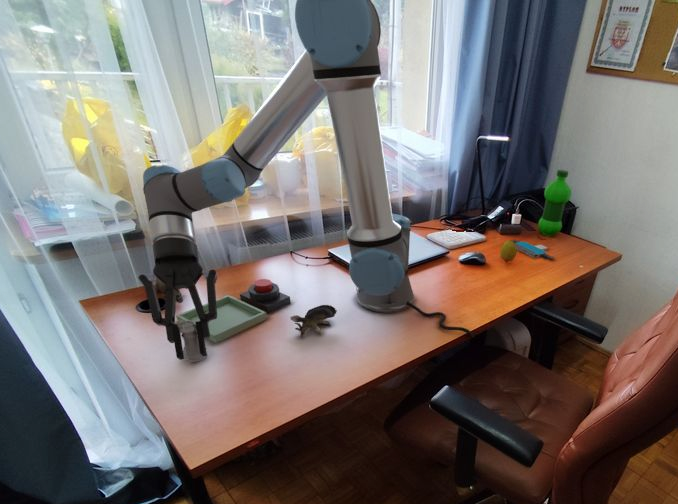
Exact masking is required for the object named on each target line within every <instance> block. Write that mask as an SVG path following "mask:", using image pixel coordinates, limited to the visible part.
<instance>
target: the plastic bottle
mask: <svg viewBox="0 0 678 504" xmlns="http://www.w3.org/2000/svg"><path fill="white" fill-rule="evenodd" d="M555 176H556V179H555V180H554V181H552V182H550V183H549V184H548V185H546V187H545V188H544V194H543V196H544V199H545V202H544V207H543V212H542V215H541V217H540V218H539V220H538V224H537V225H538V229H539V231H540V232H541V234H542V235H544V236H546V237H553V236H555V235H556V234H558V233H560V231H561V230H562V228H563V222H562V218H563V214H564V211H565V207H566V203H568V202H569V201H570V199H571V197H572V190H571V188H570V186H569V184H568V183H567V182H566V179H567V178H568V176H569V171H568V170H564V169H557V171H556V175H555Z"/></svg>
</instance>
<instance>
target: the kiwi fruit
mask: <svg viewBox="0 0 678 504" xmlns="http://www.w3.org/2000/svg"><path fill="white" fill-rule="evenodd" d="M512 241H513V240H507V241H505V242H504V243H502V245H501V247H500V253H499V254H500V255H499V256H500V258H501V259H502V260H503V261H504V262H505V263H506V264H508V263H509V262H512V261H513V260H514V259H516V256H517V252H518V250H517V247H516V245H515V243H514V242H515V241H514V242H512Z"/></svg>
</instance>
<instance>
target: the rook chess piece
mask: <svg viewBox="0 0 678 504" xmlns="http://www.w3.org/2000/svg"><path fill="white" fill-rule="evenodd" d="M182 323H183V324H182ZM182 323H178V326H179V328H178V330H179V331H180V334H181V338H182V339H183V343H184V346H183V354H184V359H183V360H185V361H186V362H189V363H198V362H201V361H204V360H205V359H206V358H207V356H208V355H209V351H208V349H207V347H206V352H207V356H202V355H201V354H200V349H199V342H198V336H197V331H196V324H194V322H193V321H190V320H188V321H187V323H185V321H183V322H182Z"/></svg>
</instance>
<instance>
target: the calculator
mask: <svg viewBox="0 0 678 504" xmlns="http://www.w3.org/2000/svg"><path fill="white" fill-rule="evenodd" d="M426 238H427V239H428V240H429V241H432V242H433V243H435V244H438V245H439V246H441V247H443V248H446V249H448V250H453V249H457V248H463V247H465V246H469V245H470V246H471V245H474V244H477V243H481V242H485V241H486V239H487V236H485V235H484V234H482V233H479V232H477V231H475V232H466V231H464V232H456V231H452V230H450V229H446V230H440V231H435V232H432V233H428V234H426Z"/></svg>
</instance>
